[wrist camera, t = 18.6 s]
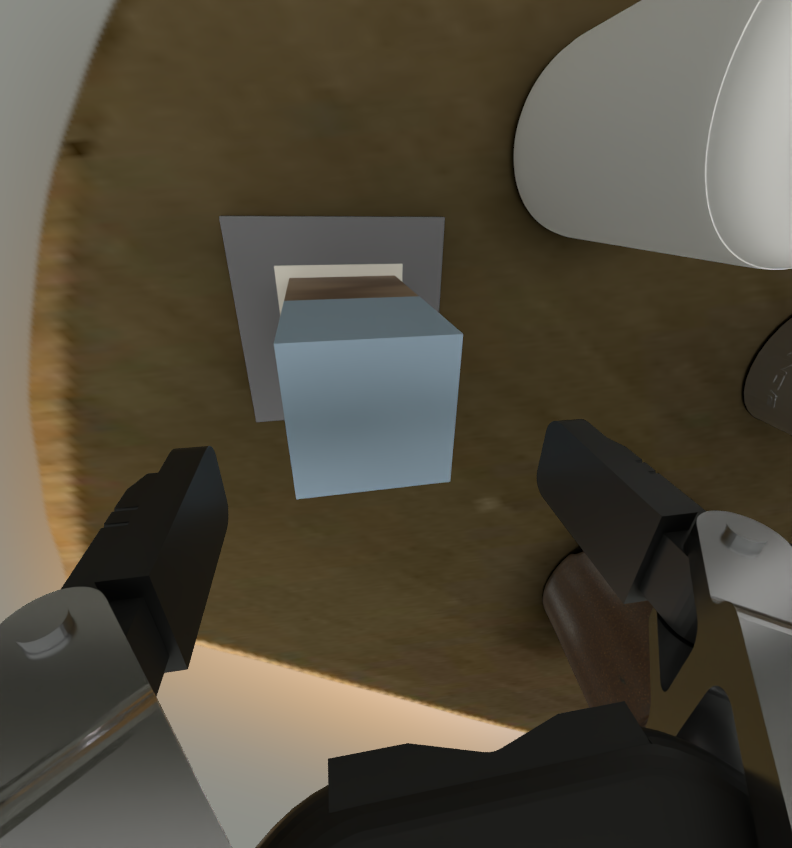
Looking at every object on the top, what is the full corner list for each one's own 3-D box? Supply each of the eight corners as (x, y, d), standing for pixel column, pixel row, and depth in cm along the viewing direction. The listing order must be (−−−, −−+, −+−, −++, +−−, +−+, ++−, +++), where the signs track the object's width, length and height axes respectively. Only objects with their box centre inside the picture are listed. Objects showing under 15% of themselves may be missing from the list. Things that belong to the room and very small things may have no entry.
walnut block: (394, 275, 20) (419, 296, 15) (394, 371, 22) (415, 413, 18) (289, 277, 19) (283, 301, 14) (300, 377, 21) (299, 423, 17)
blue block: (419, 296, 15) (463, 334, 11) (415, 413, 18) (450, 481, 13) (283, 300, 14) (273, 343, 10) (299, 423, 17) (296, 499, 13)
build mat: (441, 216, 19) (445, 217, 19) (430, 403, 24) (433, 408, 24) (221, 215, 18) (218, 216, 17) (257, 417, 22) (256, 423, 22)
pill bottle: (507, 250, 21) (834, 334, 8) (508, 43, 17) (1195, -492, 4) (647, 226, 21) (1155, 265, 9) (682, 22, 17) (1740, -479, 5)
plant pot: (507, 649, 39) (617, 895, 25) (528, 526, 31) (704, 787, 17) (655, 617, 41) (829, 826, 28) (710, 494, 34) (993, 702, 20)
